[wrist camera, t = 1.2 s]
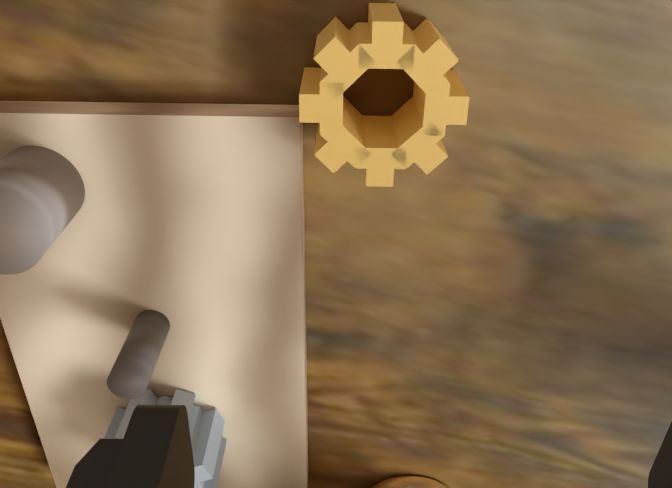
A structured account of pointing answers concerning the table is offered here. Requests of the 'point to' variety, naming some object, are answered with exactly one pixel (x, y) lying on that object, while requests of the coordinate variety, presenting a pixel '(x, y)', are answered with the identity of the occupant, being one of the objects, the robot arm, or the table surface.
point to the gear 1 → (202, 433)
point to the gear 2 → (382, 131)
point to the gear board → (158, 272)
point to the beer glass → (409, 483)
